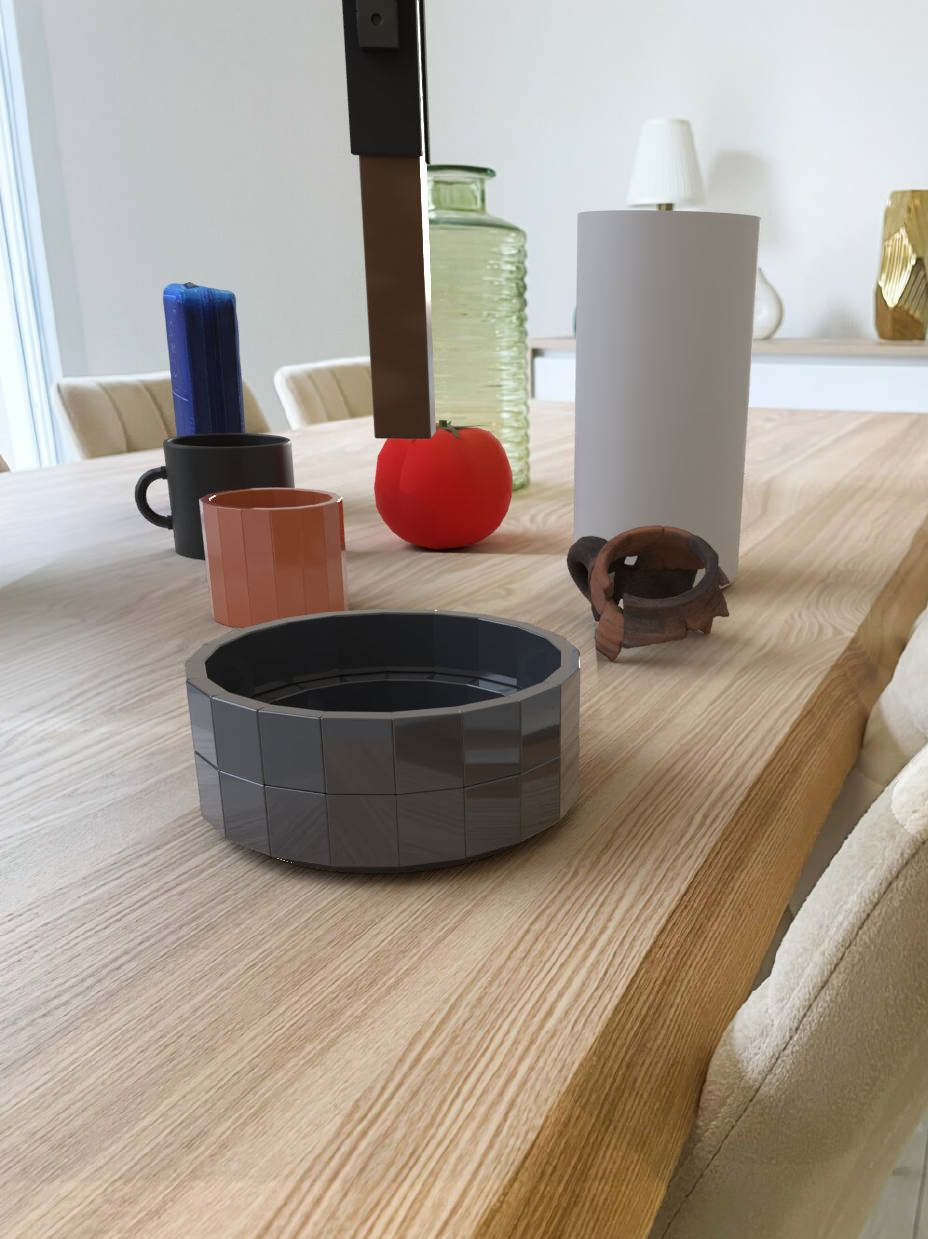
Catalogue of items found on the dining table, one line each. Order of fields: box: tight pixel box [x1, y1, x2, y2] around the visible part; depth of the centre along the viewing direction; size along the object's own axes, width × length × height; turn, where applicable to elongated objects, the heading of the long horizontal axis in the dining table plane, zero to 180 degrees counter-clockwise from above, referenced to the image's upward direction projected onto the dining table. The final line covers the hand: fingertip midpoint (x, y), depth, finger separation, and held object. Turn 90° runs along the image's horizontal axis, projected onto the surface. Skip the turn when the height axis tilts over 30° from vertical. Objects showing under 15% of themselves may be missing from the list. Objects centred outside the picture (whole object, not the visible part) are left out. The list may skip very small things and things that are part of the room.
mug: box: [134, 432, 296, 561], centre depth 94 cm, size 9×12×9 cm
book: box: [162, 281, 247, 437], centre depth 111 cm, size 14×5×20 cm, turn 25°
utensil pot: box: [199, 487, 350, 629], centre depth 76 cm, size 8×8×8 cm
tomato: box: [373, 419, 514, 550], centre depth 101 cm, size 12×12×10 cm
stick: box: [358, 0, 437, 440], centre depth 49 cm, size 2×2×20 cm
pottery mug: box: [566, 525, 731, 662], centre depth 74 cm, size 12×10×8 cm
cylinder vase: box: [572, 209, 762, 590], centre depth 87 cm, size 12×12×25 cm
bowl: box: [183, 608, 582, 875], centre depth 50 cm, size 16×16×6 cm
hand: (392, 157), depth 48 cm, fingers closed on stick, 2 cm apart
